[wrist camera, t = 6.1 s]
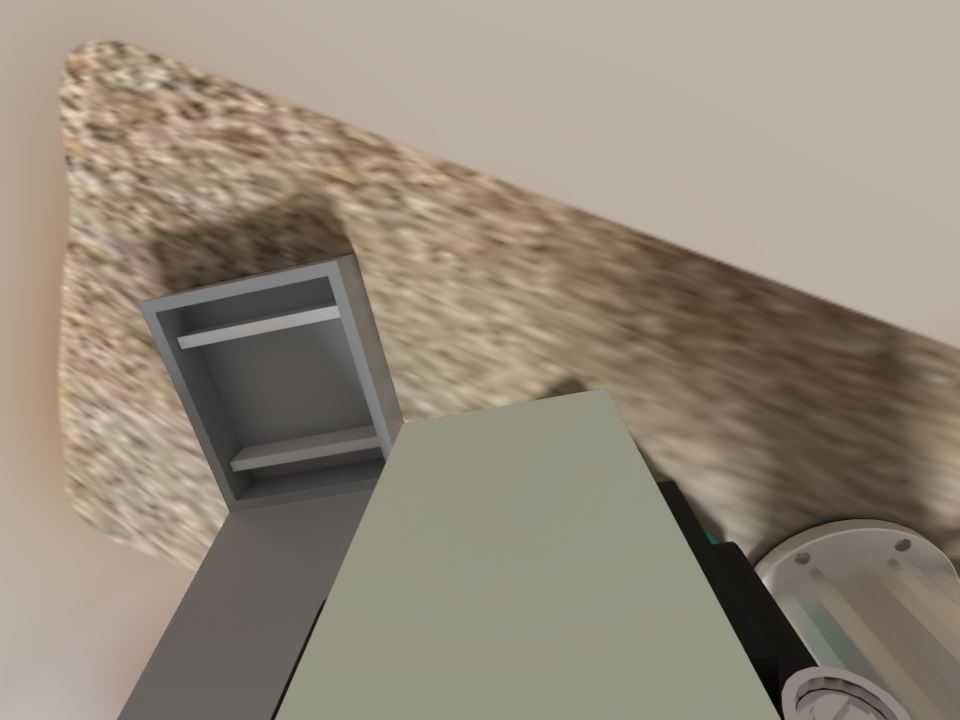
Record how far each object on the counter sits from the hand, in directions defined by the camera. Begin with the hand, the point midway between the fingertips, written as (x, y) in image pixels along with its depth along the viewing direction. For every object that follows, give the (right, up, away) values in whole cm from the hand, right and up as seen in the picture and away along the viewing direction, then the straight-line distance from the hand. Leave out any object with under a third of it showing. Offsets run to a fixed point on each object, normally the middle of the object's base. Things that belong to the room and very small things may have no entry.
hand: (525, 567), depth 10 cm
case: (-11, +3, +17) cm, 21 cm away
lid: (-10, -6, +11) cm, 16 cm away
